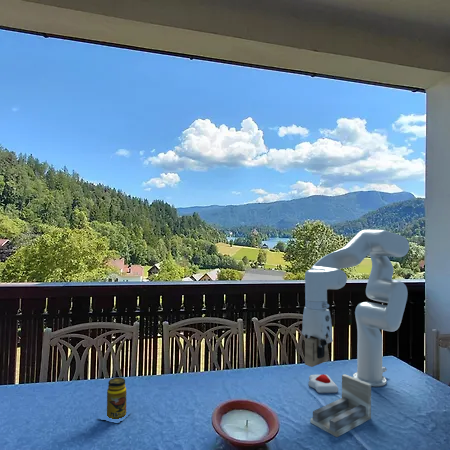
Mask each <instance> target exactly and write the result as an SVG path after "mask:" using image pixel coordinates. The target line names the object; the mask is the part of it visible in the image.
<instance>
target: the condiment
mask: <svg viewBox="0 0 450 450" xmlns="http://www.w3.org/2000/svg"><path fill="white" fill-rule="evenodd" d="M107 383H108V385H107V390H106V411H107V416H108V417H109V418H112V419H119V418H122V417H124V416H125V415H126V412H127V387H126V380H125V378H123V377H119V376H118V377H113V378H111V379H110V380H109V381H108V382H107Z"/></svg>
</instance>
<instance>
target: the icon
mask: <svg viewBox="0 0 450 450" xmlns="http://www.w3.org/2000/svg"><path fill="white" fill-rule="evenodd" d="M308 380H309V381H308V386H309V387H310V388H312V389H315V390H316V392H317V393H319V394H331V393H332V394H333V393H339V387H338V385H337V384H336V383H335V382H334V380H332V378H331V377H330V376H329V375H328V374H310V375H309V376H308Z"/></svg>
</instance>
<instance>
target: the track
mask: <svg viewBox="0 0 450 450" xmlns="http://www.w3.org/2000/svg"><path fill="white" fill-rule="evenodd" d="M371 419H372V386H371V384H369V383H367V382H364V381H361V380H359V379H356V378H354V377H353V376H350V375H348V374H346V373H345V374H342V375H341V398H339V399H337V400H335V401H332V402H331V403H327V404H326V405H323V406H321V407H319V408H317V409H314V410H313V411H312V417H311V418H310V420H309V421H310V424H312V425H314V426H316V427H318V428H320V430H322V431H325V432H326V433H328V434H331V435H332V436H334V437H336V438H338V437H340V436H342V435H344V434H345V433H347V432H349V431H351V430H353V429H355V428H357V427H358V426H360V425H362V424H364V423H365V422H368V421H369V420H371Z"/></svg>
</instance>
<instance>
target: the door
mask: <svg viewBox="0 0 450 450" xmlns="http://www.w3.org/2000/svg"><path fill="white" fill-rule="evenodd" d="M325 337H326V336H325ZM326 340H327V338H326ZM317 347H319V346H318V338H316V337H310V338H304V365H306V366H308V367H311V368H314V367H315V366H318V365H321V364H324V363H327V362H328V361H329V348H328V347H329V343H328V344H327V345H326V346H325V355H324V357H322V358H320V359H319V358H318V357H317Z"/></svg>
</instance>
